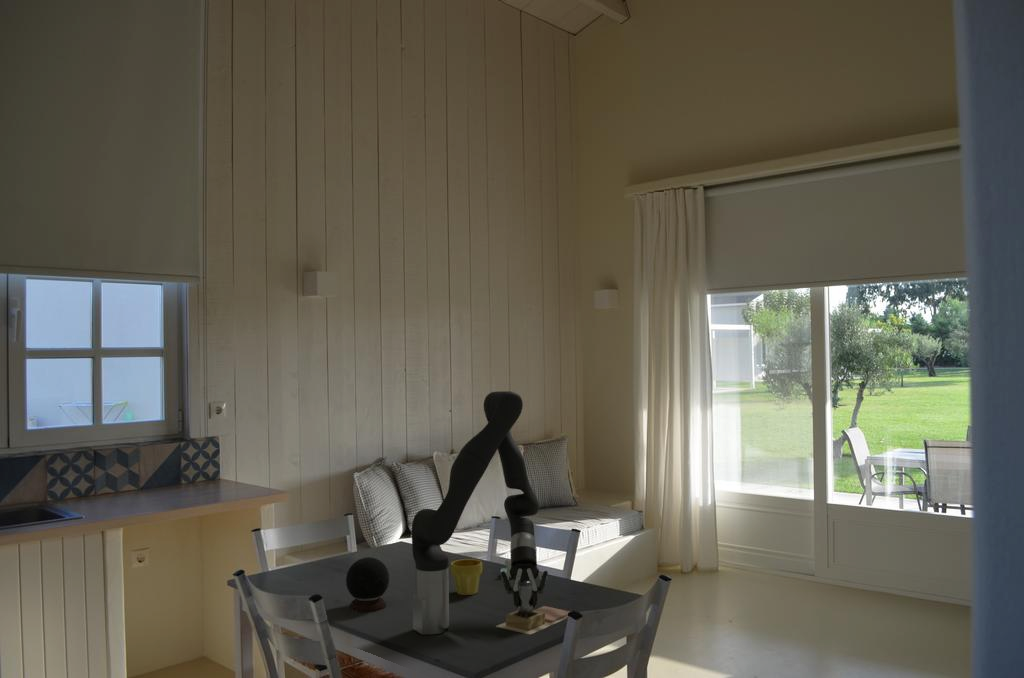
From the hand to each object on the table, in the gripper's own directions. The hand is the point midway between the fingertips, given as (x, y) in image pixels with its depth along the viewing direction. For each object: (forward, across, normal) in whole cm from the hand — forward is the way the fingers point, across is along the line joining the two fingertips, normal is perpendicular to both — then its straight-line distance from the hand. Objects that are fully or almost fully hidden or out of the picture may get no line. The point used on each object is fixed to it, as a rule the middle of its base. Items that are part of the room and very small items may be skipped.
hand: (525, 605), depth 224 cm
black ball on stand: (-14, -48, +24) cm, 55 cm away
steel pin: (+3, 0, +6) cm, 6 cm away
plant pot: (-23, -18, +34) cm, 45 cm away
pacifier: (-38, -2, +48) cm, 61 cm away
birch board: (+1, +3, +9) cm, 10 cm away
